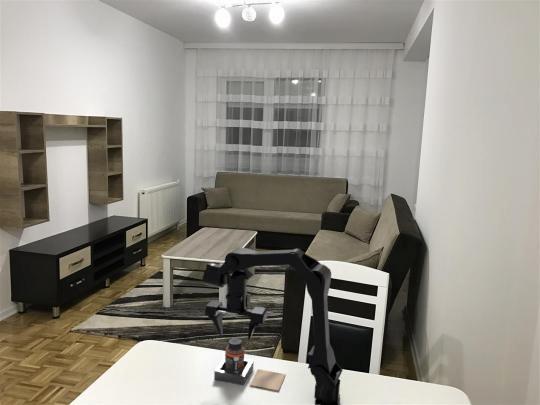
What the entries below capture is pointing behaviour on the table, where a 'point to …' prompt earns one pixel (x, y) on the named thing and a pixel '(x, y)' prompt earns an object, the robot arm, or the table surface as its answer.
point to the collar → (233, 373)
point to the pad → (268, 380)
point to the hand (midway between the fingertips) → (235, 337)
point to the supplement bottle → (234, 356)
